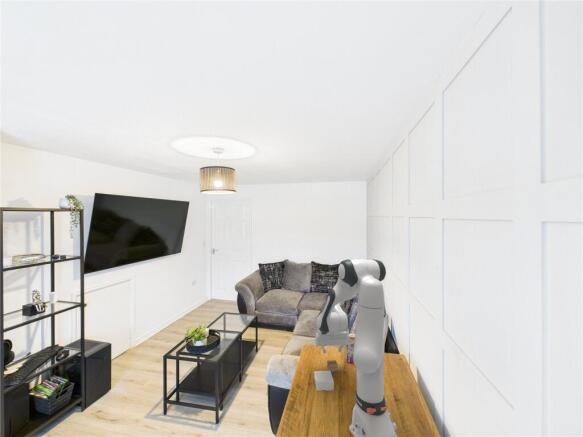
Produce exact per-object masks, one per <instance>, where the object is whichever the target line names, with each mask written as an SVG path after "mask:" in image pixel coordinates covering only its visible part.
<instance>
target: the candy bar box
mask: <svg viewBox="0 0 583 437" xmlns="http://www.w3.org/2000/svg"><path fill="white" fill-rule="evenodd" d="M354 341H355V333H349V344H348V345H345V347H346V348H345V350H346V351H345V358H346V363H347V364H348V363H349V364H354V361H353V352H354Z"/></svg>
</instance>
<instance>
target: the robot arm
mask: <svg viewBox="0 0 583 437" xmlns="http://www.w3.org/2000/svg"><path fill="white" fill-rule="evenodd" d="M337 272H338V278H337V282H336V284H335V285H334V286H333V288H331V289H330V290H329V291H328V292H327V295H326V297H325V299H324V302H323V303H322V307H321V310H320V311H319V313H318V314H317V316H316V319H315V324H316V325H315V326H316V330H317V331H316V332H315V337H314V344H315V345H316V347H321V349H322V354H326V352H327V350H326V349H325V347H332V346H339V347H338V348H337V351H338V353H342V350H343V349H344V346H346V345H348V344H349V334H350V329H349V328H350V324H351V318H350V315H349V314H348V313H346V312H345V311H344V310H343V309H342V307H341V303H344V302H346V301H349V300H352V299H354V298H355V297H356V296H357V309H356V310H357V311H356V326H355V331H354V332H355V333H354V334H355V341H354V352H353V361H354V363H353V364H354V366H355V367H356V389H355V396H354V398H355V403H354V407H353V409H352V419H351V424H350V425H349V428H348V430H349V432H350V433H351V435H352V437H398V435H397V433H396V430H397V424H396V422H392V419H391V413H390V412H389V411H388V409H387V408H388V407H387V401H386V397H385V392H384V391H385V390H384V388H385V387H384V377H385V376H384V375H385V374H384V372H385V371H384V370H385V340H384V326H385V292H384V291H385V290H384V285H383V283H382V281H384V280H385V278H386V275H387V269H386V265H385V264H384V263H383V261H381V260H378V259H375V258H374V259H365V258H354V259H353V258H352V259H349V258H348V259H344V260H342V261H340V262H339V264H338V267H337Z"/></svg>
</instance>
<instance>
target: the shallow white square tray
mask: <svg viewBox="0 0 583 437" xmlns="http://www.w3.org/2000/svg"><path fill="white" fill-rule="evenodd" d="M313 375H314V376H313V377H314V378H313V379H314V380H315V381H314V384H315V389H316V391H317V392H318V391H321V390H326V391H334V389H335V388H334V387H335V386H334V385H335V383H334V377H333V376H332V375H331V372H330V371H327V370H314V372H313Z"/></svg>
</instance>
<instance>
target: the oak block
mask: <svg viewBox="0 0 583 437" xmlns="http://www.w3.org/2000/svg"><path fill="white" fill-rule="evenodd" d="M326 366H327V368H326V371H330V372H331V375H332V377H335V376H339V364H338V363H337V360H336V359H333V360H327V361H326Z"/></svg>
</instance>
